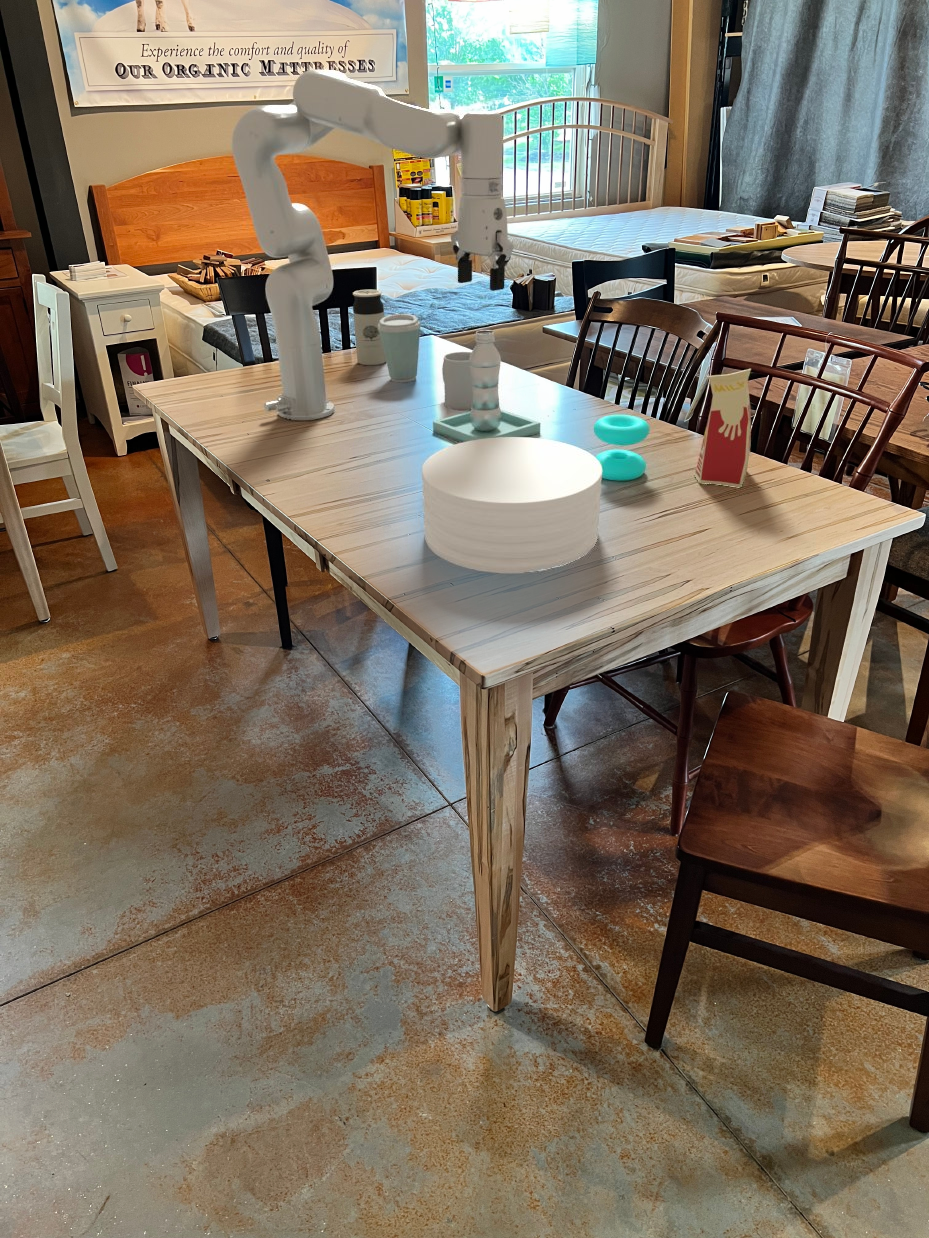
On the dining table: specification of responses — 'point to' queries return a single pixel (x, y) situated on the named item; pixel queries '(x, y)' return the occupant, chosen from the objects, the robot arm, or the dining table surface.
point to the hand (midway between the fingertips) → (480, 286)
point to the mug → (457, 381)
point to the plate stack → (511, 503)
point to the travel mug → (368, 327)
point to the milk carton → (726, 432)
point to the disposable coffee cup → (400, 345)
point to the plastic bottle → (485, 382)
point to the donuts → (621, 433)
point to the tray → (464, 431)
